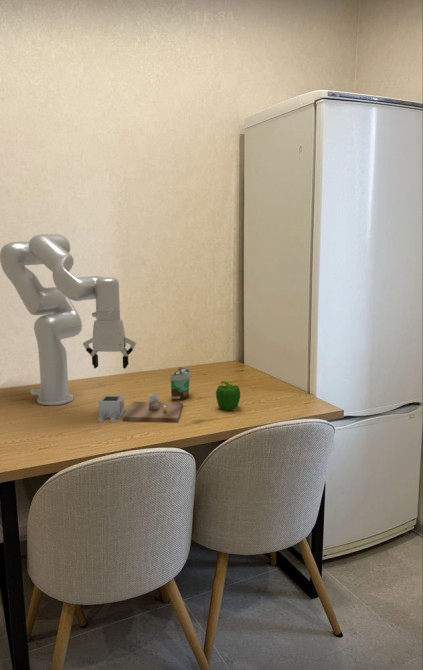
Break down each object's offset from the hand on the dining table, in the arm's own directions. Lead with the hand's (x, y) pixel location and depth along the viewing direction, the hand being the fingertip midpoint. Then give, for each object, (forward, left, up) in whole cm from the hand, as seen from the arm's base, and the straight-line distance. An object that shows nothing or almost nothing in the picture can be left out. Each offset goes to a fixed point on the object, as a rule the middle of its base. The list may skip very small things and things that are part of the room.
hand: (110, 367), depth 174 cm
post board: (+14, +2, -16) cm, 21 cm away
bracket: (0, -2, -16) cm, 16 cm away
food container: (+22, +20, -17) cm, 34 cm away
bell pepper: (+39, +8, -17) cm, 43 cm away
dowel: (+18, -2, -15) cm, 23 cm away
